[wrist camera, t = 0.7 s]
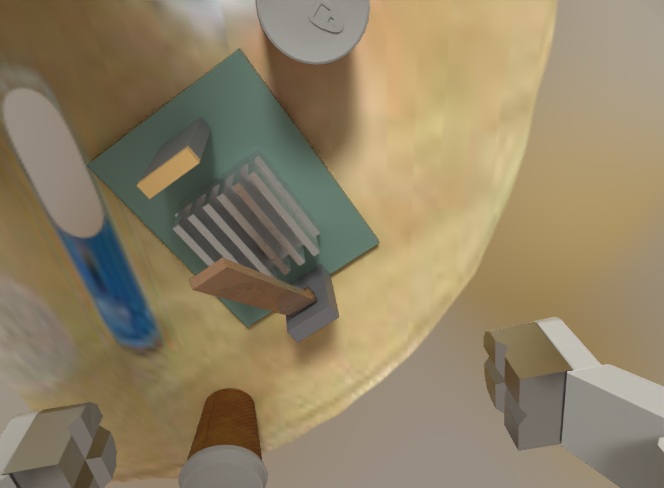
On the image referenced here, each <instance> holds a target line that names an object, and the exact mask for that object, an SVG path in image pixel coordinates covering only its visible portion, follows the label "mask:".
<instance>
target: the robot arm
mask: <svg viewBox="0 0 664 488" xmlns="http://www.w3.org/2000/svg"><path fill="white" fill-rule="evenodd" d="M484 348H485V350H486V352H487V353H488V355H489V357H488V359H487V360H486V362H485V363H484V374H485V381H486V385H487V390H488V392H489V395H490V398H491V400H492V402H493V404H494V406H495V408H496V409H498V410H500V411H501V412H503V413H504V425H505V427H506V429H507V430H508V432H509V434H510V436H511V438H512V440H513V442H514V443H515V445H516V447H517V449H518V450H526V449H531V448H538V447H545V446H550V445H557V444H561V446H562V447H563V448H565V449H566V450H568V451H569V452H571V453H572V454H573V455H575V456H576V457H578V458H579V459H580V460H582V461H583V462H585V463H586V464H588V465H589V466H590V467H592V468H593V469H595V470H596V471H597V472H599V473H601V474H602V475H603V476H605V477H606V478H607V479H609V480H610V481H612V482H613V483H614V484H616V485H617V486H619V487H620V488H664V387H663V386H661V385H658V384H656V383H653V382H651V381H649V380H646V379H644V378H641V377H639V376H636V375H634V374H632V373H629V372H627V371H624V370H622V369H619V368H617V367H615V366H612V365H610V364H607V365H601V364H600V363H599V362H598V361H597V360H596V358H595V357H594V356H593V355H592V354H591V353H590V352H589V351H588V349H587V348H586V347H585V346H584V345H583V344H582V343H581V342H580V341H579V339H578V338H577V337H576V336H575V335H574V334H573V333H572V331H571V330H570V329H569V328H568V327H567V326H566V325H565V324H564V322H563V321H562V320H561V319H559V318H557V317H552V318H548V319H543V320H537V321H533V322H532V323H526V324H520V325H515V326H510V327H504V328H499V329H494V330H488V331H485V334H484ZM102 417H103V415H102V414H101V412H100V410H99V408H98V406H97V404H94V403H91V402H89V403H83V404H77V405H70V406H64V407H58V408H51V409H45V410H42V411H35V412H29V413H23V414H18V415H17V416H15V417H13V418H12V419H11V421H10V422H9V424H8V425H7V427H6V428H5V430H4V432H3V433H2V435H1V436H0V488H103V487H105V485H107V484H108V482H109V481H110V480H111V479H112V477H113V474H114V471H115V467H116V453H117V451H116V447H115V442H114V439H113V437H112V435H111V432H110V431H108V430H106V429H104V428H103V427H101V426H99V424H100V422H101V419H102Z"/></svg>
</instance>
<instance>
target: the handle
mask: <svg viewBox="0 0 664 488" xmlns="http://www.w3.org/2000/svg"><path fill="white" fill-rule="evenodd" d="M189 282H190V284H191V287H192V289H193V290H195V291H199V292H203V293H206V294H210V295H214V296H217V297H221V298H225V299H229V300H232V301H236V302H240V303H243V304H247V305H251V306H255V307H258V308H262V309H266V310H269V311H273V312H277V313H281V314H284V315H289V316H292V315H294V314H295V313H297V312H299V311H300V310H302V309H303V308H305V307H306V306H308V305H310V304H311V303H313V302H314V301H316V300H317V298H316V295H315V293H314V292H313V290H312V289H311V288H310V287H309V286H307V287H306V288H304V289H300V288H298V287H295V286H293V285H290V284H288V283H285V282H283V281H280V280H278V279H275V278H273V277H270V276H268V275H265V274H263V273H260V272H258V271H255V270H253V269H250V268H248V267H245V266H243V265H240V264H238V263H235V262H233V261H230V260H228V259H225V258H223V257H222V258H221V259H220V260H218V261H217V262H215V263H214V264H212V265H211V266H209V267H208V268H206V269H205V270H203V271H202V272H200V273H199V274H197V275H196V276H194V277H193V278H191V279H190V280H189Z"/></svg>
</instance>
